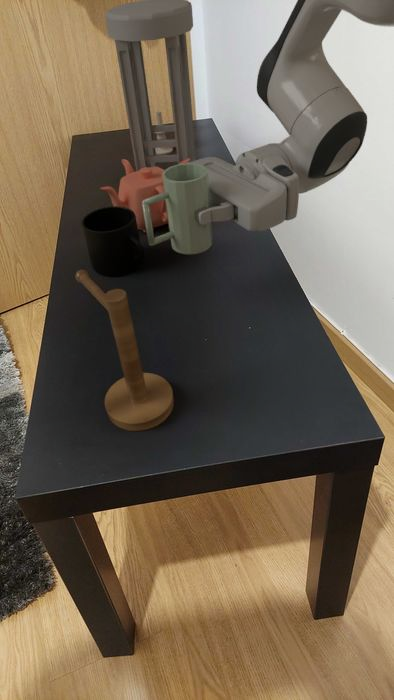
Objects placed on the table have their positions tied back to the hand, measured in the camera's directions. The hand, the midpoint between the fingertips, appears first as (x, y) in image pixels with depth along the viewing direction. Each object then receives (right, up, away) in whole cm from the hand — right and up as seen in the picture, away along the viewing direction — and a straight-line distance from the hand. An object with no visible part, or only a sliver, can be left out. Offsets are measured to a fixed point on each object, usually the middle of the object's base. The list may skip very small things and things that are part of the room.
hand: (183, 208), depth 72 cm
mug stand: (-7, -26, -2) cm, 27 cm away
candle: (-7, +32, +61) cm, 69 cm away
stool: (-4, +17, +44) cm, 47 cm away
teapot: (-8, +7, +34) cm, 36 cm away
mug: (-12, -5, +22) cm, 25 cm away
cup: (0, -5, +4) cm, 6 cm away
